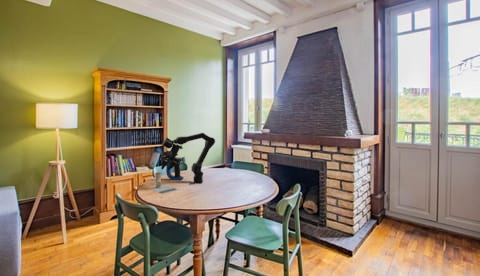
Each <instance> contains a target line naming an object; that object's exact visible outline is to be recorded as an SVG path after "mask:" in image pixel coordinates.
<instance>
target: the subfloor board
mask: <svg viewBox="0 0 480 276" xmlns="http://www.w3.org/2000/svg"><path fill="white" fill-rule="evenodd" d="M173 188H175V189H177V190H173V191H170V192H166V193H161V194H162V195H165V194H168V193H169V194H170V193H173V192H177V191H180V190H181V188H180V189H179V188H176V187H173V186H170V185H167V184H162V185H161V188H156V186H152V187H149V188H147V189H148V190H151V191H154V192H157V193H159V192H161V191H165V190H169V189H173Z"/></svg>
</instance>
